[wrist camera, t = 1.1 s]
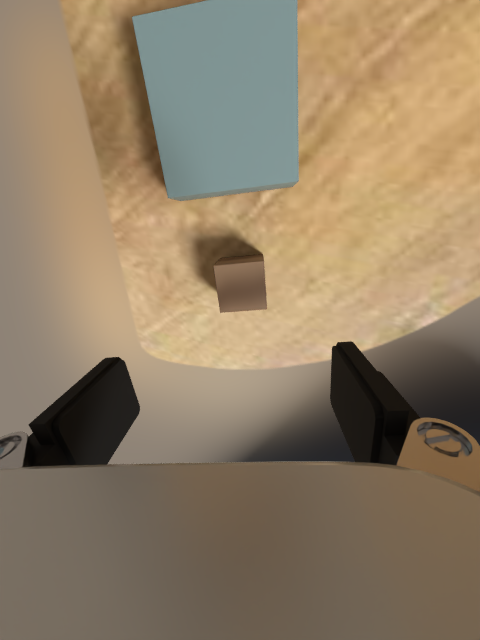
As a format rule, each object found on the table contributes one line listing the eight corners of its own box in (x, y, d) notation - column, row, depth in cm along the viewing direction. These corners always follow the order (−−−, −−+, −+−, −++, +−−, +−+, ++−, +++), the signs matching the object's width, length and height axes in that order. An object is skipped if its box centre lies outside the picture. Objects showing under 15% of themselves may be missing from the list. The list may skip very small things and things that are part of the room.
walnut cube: (220, 258, 28) (213, 265, 23) (262, 254, 27) (263, 261, 23) (226, 298, 30) (220, 312, 25) (265, 295, 29) (267, 309, 25)
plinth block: (153, 51, 21) (131, 16, 17) (289, 24, 20) (297, -20, 16) (180, 200, 26) (168, 198, 22) (292, 186, 24) (298, 181, 21)
